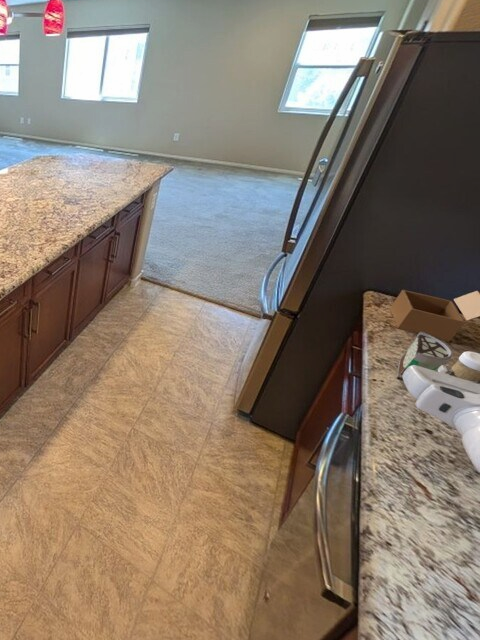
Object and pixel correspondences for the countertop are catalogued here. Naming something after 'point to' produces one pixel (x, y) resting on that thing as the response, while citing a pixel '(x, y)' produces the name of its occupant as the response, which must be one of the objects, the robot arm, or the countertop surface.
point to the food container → (424, 354)
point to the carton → (426, 315)
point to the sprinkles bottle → (467, 367)
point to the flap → (469, 305)
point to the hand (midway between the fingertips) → (461, 373)
